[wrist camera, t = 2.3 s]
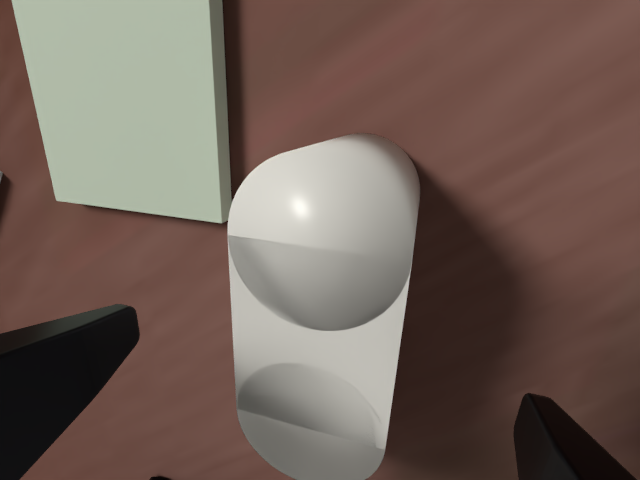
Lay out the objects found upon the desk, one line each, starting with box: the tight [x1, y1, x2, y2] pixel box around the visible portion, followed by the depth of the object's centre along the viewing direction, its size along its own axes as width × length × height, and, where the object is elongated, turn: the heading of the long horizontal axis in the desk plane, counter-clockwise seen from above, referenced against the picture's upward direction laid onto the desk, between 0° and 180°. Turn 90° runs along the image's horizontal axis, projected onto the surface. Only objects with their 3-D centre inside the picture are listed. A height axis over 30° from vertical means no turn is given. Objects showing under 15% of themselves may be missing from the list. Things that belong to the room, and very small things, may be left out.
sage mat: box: [12, 0, 232, 223], centre depth 13 cm, size 12×8×1 cm, turn 178°
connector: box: [228, 133, 420, 480], centre depth 11 cm, size 11×4×6 cm, turn 178°
